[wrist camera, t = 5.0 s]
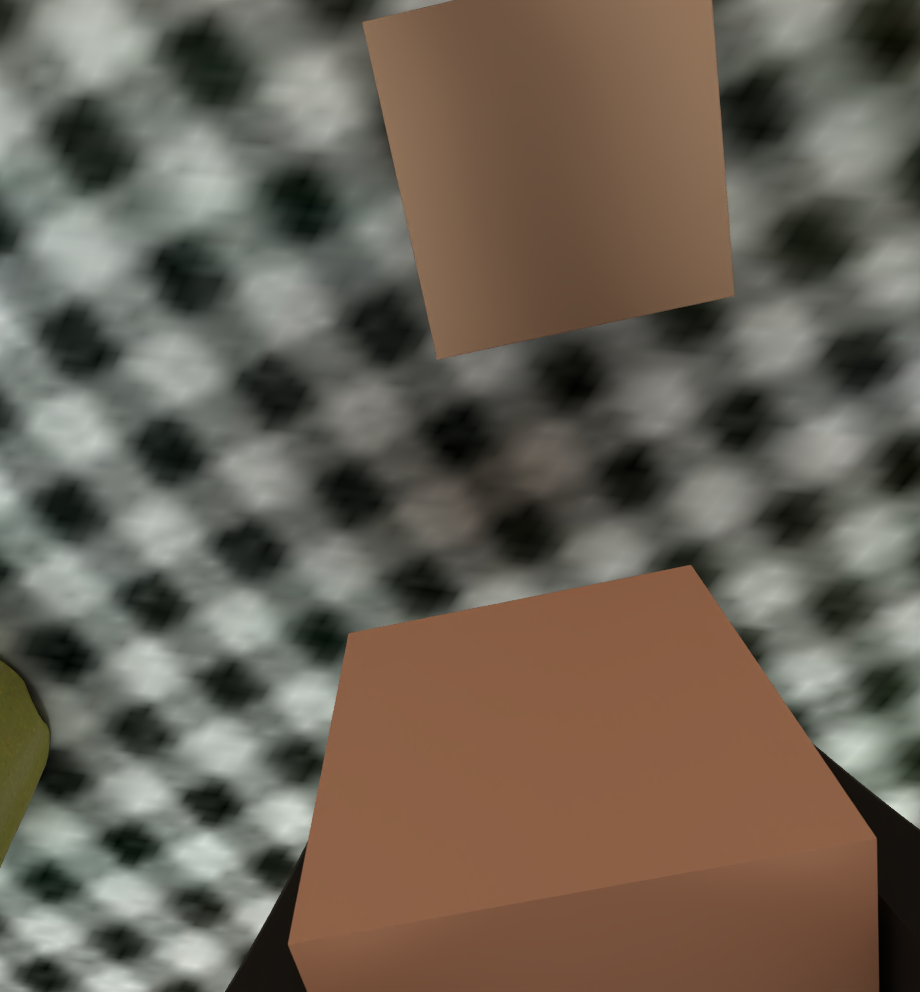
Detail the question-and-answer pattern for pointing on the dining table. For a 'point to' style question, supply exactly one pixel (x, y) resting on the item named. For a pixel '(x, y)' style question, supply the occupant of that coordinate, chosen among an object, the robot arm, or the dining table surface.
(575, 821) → the terracotta block
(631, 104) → the walnut block
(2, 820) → the plant pot
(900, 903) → the robot arm
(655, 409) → the dining table surface
